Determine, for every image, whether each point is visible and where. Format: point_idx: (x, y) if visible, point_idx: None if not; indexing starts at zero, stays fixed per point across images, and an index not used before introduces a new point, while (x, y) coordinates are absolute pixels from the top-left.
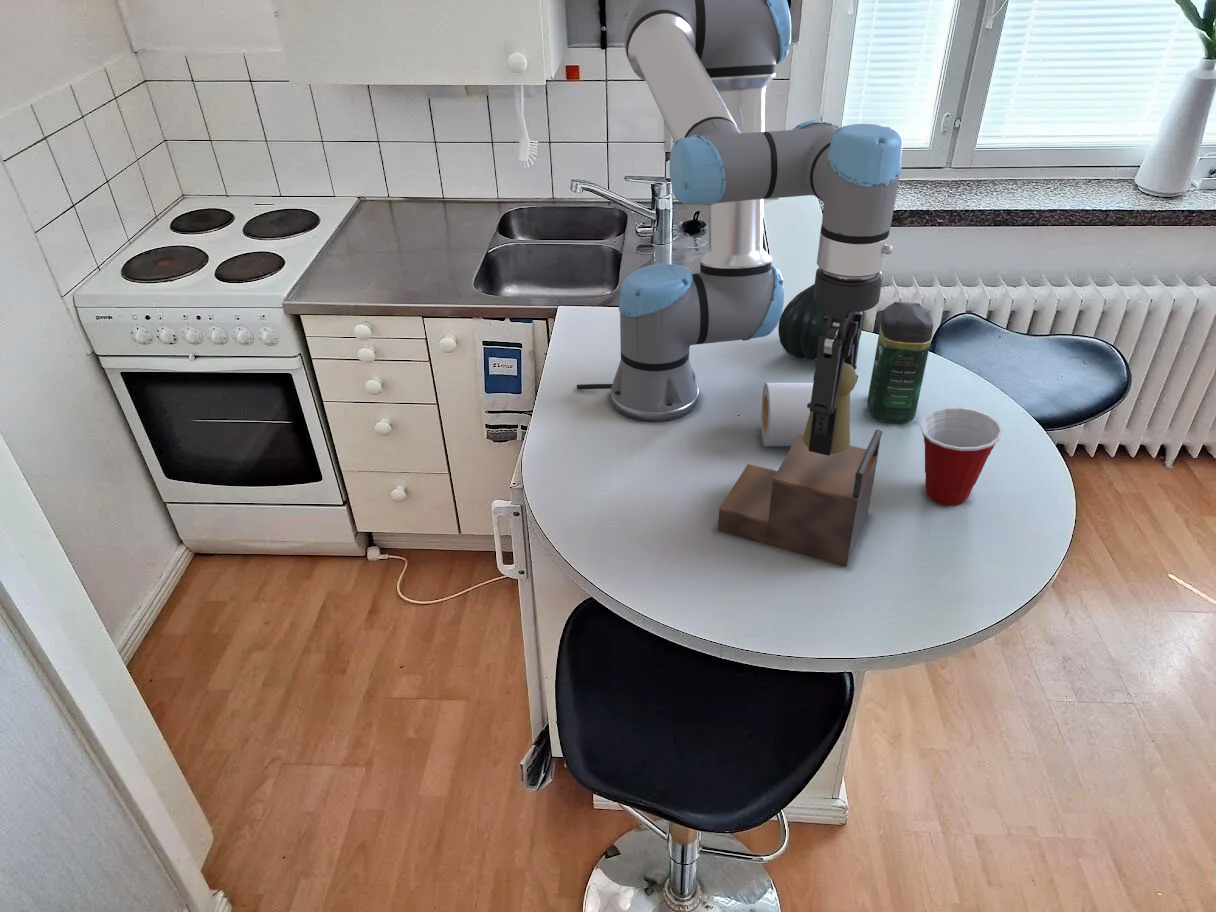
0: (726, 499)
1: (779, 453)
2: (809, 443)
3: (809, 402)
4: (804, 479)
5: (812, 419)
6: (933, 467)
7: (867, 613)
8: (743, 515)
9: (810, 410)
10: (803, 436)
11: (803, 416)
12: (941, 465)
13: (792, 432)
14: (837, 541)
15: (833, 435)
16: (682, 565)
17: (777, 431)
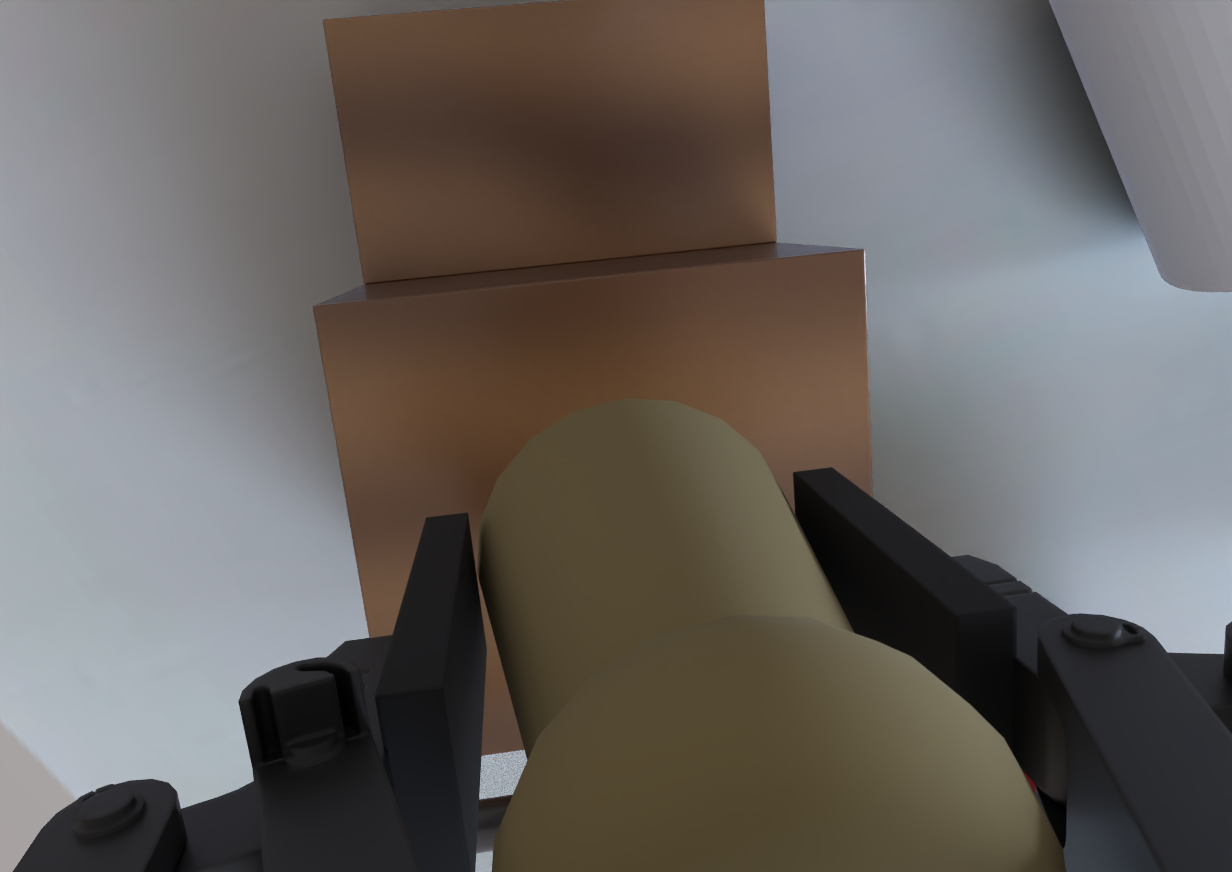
0: (412, 21)
1: (1046, 51)
2: (420, 538)
3: (346, 673)
4: (412, 469)
5: (397, 626)
6: (1032, 784)
7: (238, 732)
8: (346, 156)
9: (61, 818)
10: (575, 421)
11: (1214, 121)
12: None
13: (1113, 93)
14: None
15: (482, 722)
16: (38, 11)
17: (1087, 16)
